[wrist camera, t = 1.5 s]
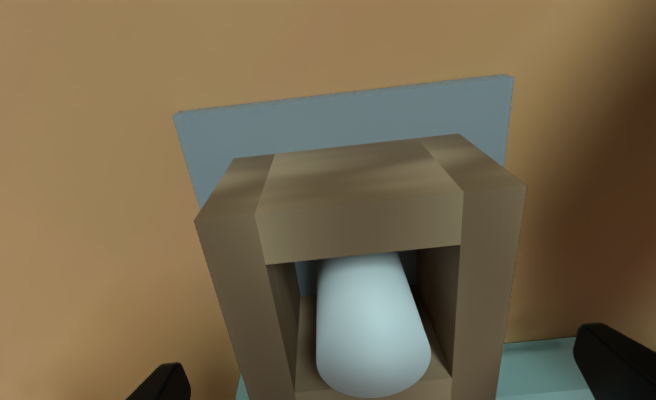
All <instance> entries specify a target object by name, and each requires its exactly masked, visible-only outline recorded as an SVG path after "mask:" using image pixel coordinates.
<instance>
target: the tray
mask: <svg viewBox="0 0 656 400" xmlns="http://www.w3.org/2000/svg"><path fill="white" fill-rule="evenodd" d="M575 339H576V337H570V338H559V339H549V340H538V341H528V342H518V343H507V344H504V345H503V352H502V359H501V365H500V372H499V379H498V386H497V393H496V399H495V400H595V399H594V397H593V395H592V393H591V391H590V389H589V387H588V385H587V383H586V381H585V379H584V378H583V376H582V374H581V372H580V370H579V368H578V366H577V364H576V362H575V360H574V357H573V347H574V343H575ZM235 400H249V397H248V394H247V391H246V387H245V384H244V381H243V378H242V375H240V380H239V384H238V389H237V393H236V398H235Z"/></svg>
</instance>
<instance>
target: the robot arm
mask: <svg viewBox="0 0 656 400" xmlns="http://www.w3.org/2000/svg"><path fill="white" fill-rule="evenodd" d="M573 357H574V360H575V362H576V364H577V366H578V368H579V370H580V372H581V374H582V376H583V378H584V379H585V381H586V383H587V385H588V387H589V389H590V391H591V393H592V395H593V397H594V399H595V400H656V352H654V351H652V350H651V349H649V348H647V347H645V346H643V345H642V344H640V343H638V342H636V341H634V340H632V339H631V338H629V337H627V336H625V335H623V334H622V333H620V332H618V331H616V330H614V329H613V328H611V327H609V326H607V325H605V324H603V323H587V324H582V325H581V326H579V328H578V332H577V335H576V339H575V343H574V347H573ZM190 397H191V387H190V383H189V381H188V379H187V376H186V374H185V371H184V369H183V367H182V365H181V364H180V363H178V362H175V363H165V364H162V365H160V366H159V367H158V368H156V369H155V370H154V371H153V372H152V374H151V375H150V376H149V377H148V378H147V379H146V380H145V381H144V382H143V383H142V384H141V385H140V386H139V387H138V388H137V389H136V390H135V391H134V392H133V393H132V394H131V395H130V396H129V397H128V398H127V399H126V400H190Z"/></svg>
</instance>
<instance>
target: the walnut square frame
mask: <svg viewBox="0 0 656 400" xmlns="http://www.w3.org/2000/svg"><path fill="white" fill-rule="evenodd" d="M526 189H527V185H526V184H524V183H523V182H522V181H521V180H519V179H518V178H517V177H515V176H514V175H513V174H511V173H510V172H509V171H507V170H506V169H505V168H504V167H502V166H501V165H500V164H498V163H497V162H496V161H494V160H493V159H492V158H491V157H489V156H488V155H487V154H485V153H484V152H483V151H481V150H480V149H479V148H477V147H476V146H475V145H474V144H472V143H471V142H470V141H468V140H467V139H466V138H464V137H463V136H462V135H461V134H459V133H458V134H449V135H440V136H431V137H422V138H413V139H404V140H395V141H386V142H377V143H368V144H359V145H350V146H341V147H332V148H323V149H314V150H305V151H296V152H287V153H278V154H269V155H260V156H251V157H241V158H234V159H233V160H232V162H231V164H230V165H229V167H228V168H227V170H226V171H225V173H224V175H223V176H222V178H221V179H220V181H219V182H218V184H217V185H216V187H215V189H214V190H213V192H212V193H211V195H210V196H209V198H208V200H207V201H206V203H205V204H204V206H203V207H202V209H201V210H200V212H199V214H198V215H197V217H196V218H195V220H194V223H195V227H196V230H197V233H198V236H199V239H200V243H201V246H202V249H203V252H204V255H205V259H206V262H207V265H208V268H209V272H210V275H211V278H212V281H213V284H214V288H215V291H216V294H217V297H218V301H219V304H220V307H221V310H222V313H223V317H224V320H225V323H226V326H227V330H228V333H229V336H230V339H231V342H232V346H233V349H234V352H235V355H236V358H237V362H238V365H239V368H240V371H241V375H242V378H243V381H244V384H245V387H246V391H247V394H248V397H249V400H495V399H496V393H497V386H498V379H499V372H500V365H501V359H502V352H503V345H504V338H505V331H506V325H507V318H508V311H509V304H510V297H511V291H512V284H513V277H514V270H515V263H516V257H517V250H518V243H519V236H520V229H521V223H522V216H523V209H524V202H525V195H526ZM414 249H417V285H409V287H410V290H411V293H412V296H413V299H414V302H415V305H416V308H417V310H418V313H419V316H420V319H421V322H422V325H423V328H424V331H425V333H426V336H427V339H428V342H429V345H430V349H431V359H430V363H429V366H428V368H427V370H426V372H425V373H424V375H423V376H422V377H421V378H420V379H419V380H418V381H417V382H416V383H415V384H413V385H412V386H410V387H409V388H407V389H405V390H403V391H401V392H399V393H396V394H393V395H390V396H385V397H379V398H359V397H353V396H349V395H346V394H343V393H341V392H338V391H336V390H335V389H333V388H332V387H330V386H329V385H328V384H327V383H326V382H325V381H324V380H323V379H322V377H321V376H320V374H319V372H318V369H317V364H316V324H317V295H308V296H301V295H300V289H299V283H298V278H297V272H296V267H295V262H297V261H307V260H317V259H327V258H336V257H346V256H356V255H365V254H375V253H385V252H395V251H404V250H414Z"/></svg>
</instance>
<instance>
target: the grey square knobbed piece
mask: <svg viewBox="0 0 656 400" xmlns="http://www.w3.org/2000/svg"><path fill="white" fill-rule="evenodd" d="M513 82H514V77H513V76H509V75H505V74H502V75H493V76H485V77H476V78H467V79H458V80H450V81H441V82H432V83H424V84H415V85H406V86H397V87H389V88H380V89H371V90H363V91H354V92H345V93H336V94H328V95H319V96H310V97H302V98H293V99H284V100H275V101H267V102H258V103H249V104H241V105H232V106H223V107H214V108H206V109H197V110H188V111H180V112H178V113H176V114H175V115H173V120H174V123H175V126H176V130H177V133H178V136H179V140H180V143H181V147H182V150H183V153H184V157H185V160H186V163H187V167H188V170H189V174H190V177H191V180H192V184H193V187H194V190H195V194H196V197H197V200H198V204H199V207H200V210H201V209H202V207H203V206H204V204H205V203H206V201H207V200H208V198H209V196H210V195H211V193H212V192H213V190H214V189H215V187H216V185H217V184H218V182H219V181H220V179H221V178H222V176H223V175H224V173H225V171H226V170H227V168H228V167H229V165H230V164H231V162H232V160H233V159H234V158H241V157H251V156H260V155H269V154H278V153H287V152H296V151H305V150H314V149H323V148H332V147H341V146H350V145H359V144H368V143H377V142H386V141H395V140H404V139H413V138H422V137H431V136H440V135H449V134H458V133H459V134H461V135H462V136H463V137H464V138H466V139H467V140H468V141H470V142H471V143H472V144H474V145H475V146H476V147H477V148H479V149H480V150H481V151H483V152H484V153H485V154H487V155H488V156H489V157H491V158H492V159H493V160H494V161H496V162H497V163H498V164H500V165H501V166H502V167H504V161H505V152H506V144H507V135H508V126H509V117H510V108H511V100H512V91H513ZM295 267H296V272H297V278H298V283H299V289H300V295H301V296H308V295H317V324H316V364H317V369H318V372H319V374H320V376H321V377H322V379H323V380H324V381H325V382H326V383H327V384H328V385H329V386H330V387H332V388H333V389H335V390H336V391H338V392H341V393H343V394H346V395H349V396H353V397H359V398H379V397H385V396H390V395H393V394H396V393H399V392H401V391H403V390H405V389H407V388H409V387H410V386H412V385H413V384H415V383H416V382H417V381H418V380H419V379H420V378H421V377H422V376H423V375H424V373H425V372H426V370H427V368H428V366H429V363H430V359H431V349H430V345H429V342H428V339H427V336H426V333H425V331H424V328H423V325H422V322H421V319H420V316H419V313H418V310H417V308H416V305H415V302H414V299H413V296H412V293H411V290H410V287H409V285H417V249H414V250H404V251H395V252H385V253H375V254H365V255H356V256H346V257H336V258H327V259H317V260H307V261H297V262H295Z"/></svg>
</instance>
